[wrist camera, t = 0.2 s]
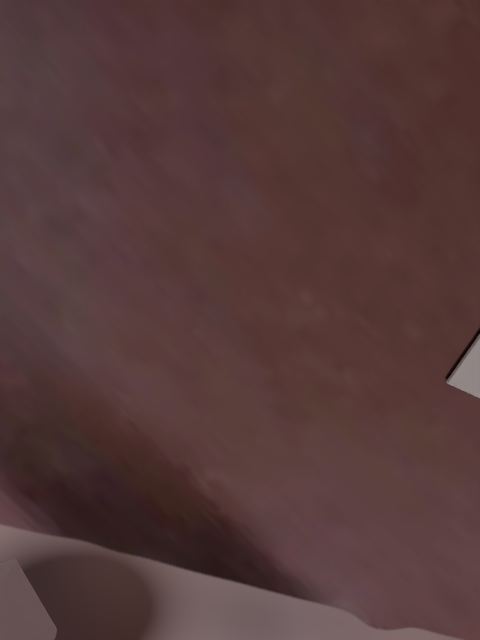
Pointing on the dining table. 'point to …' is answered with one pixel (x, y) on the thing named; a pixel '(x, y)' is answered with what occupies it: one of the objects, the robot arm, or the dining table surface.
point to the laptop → (468, 371)
